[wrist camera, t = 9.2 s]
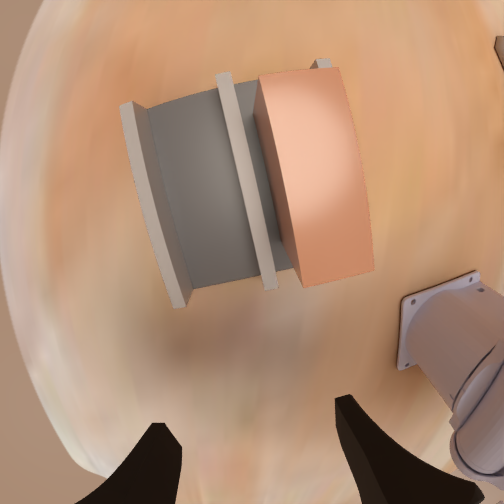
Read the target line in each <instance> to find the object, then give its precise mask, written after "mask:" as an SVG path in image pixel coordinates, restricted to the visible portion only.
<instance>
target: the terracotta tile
mask: <svg viewBox="0 0 504 504" xmlns="http://www.w3.org/2000/svg"><path fill="white" fill-rule="evenodd" d="M253 117H254V121H255V125H256V129H257V134H258V138H259V142H260V146H261V151H262V155H263V160H264V164H265V169H266V173H267V178H268V182H269V187H270V191H271V196H272V201H273V206H274V210H275V215H276V220H277V225H278V230H279V235H280V240H281V243H282V245H283V247H284V249H285V251H286V253H287V255H288V257H289V259H290V261H291V263H292V265H293V267H294V269H295V272H296V274H297V276H298V278H299V280H300V282H301V284H302V286H303V288H306V287H310V286H315V285H319V284H323V283H327V282H331V281H335V280H339V279H343V278H347V277H351V276H355V275H359V274H362V273H366V272H370V271H374V256H373V243H372V233H371V223H370V214H369V206H368V199H367V192H366V185H365V179H364V173H363V167H362V161H361V156H360V151H359V146H358V141H357V136H356V131H355V127H354V123H353V118H352V114H351V110H350V106H349V102H348V98H347V95H346V91H345V87H344V84H343V80H342V77H341V74H340V70H339V67H331V68H316V69H304V70H295V71H286V72H279V73H272V74H265V75H259V76H258V82H257V89H256V95H255V102H254V109H253Z"/></svg>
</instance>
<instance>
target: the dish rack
mask: <svg viewBox="0 0 504 504" xmlns="http://www.w3.org/2000/svg"><path fill="white" fill-rule="evenodd" d="M331 67H332V64H331V61H330V58H329V59H316V60H315V61H314V63H313V64H312V66H311V67H310V69H316V68H331ZM215 77H216V81H217V86H218V88H216V89H212V90H208V91H204V92H200V93H197V94H193V95H189V96H186V97H182V98H179V99H176V100H173V101H170V102H166V103H163V104H160V105H157V106H154V107H152V108H149V109H146V108H144V107H142V106H141V105H139V104H137V103H135V102H133V101H130V102H128V103H125V104H123V105H120V106H119V108H120V114H121V120H122V125H123V131H124V136H125V141H126V146H127V151H128V155H129V160H130V164H131V169H132V173H133V177H134V182H135V186H136V190H137V194H138V198H139V201H140V205H141V209H142V213H143V216H144V220H145V223H146V227H147V230H148V234H149V237H150V240H151V244H152V247H153V250H154V253H155V256H156V260H157V263H158V266H159V269H160V272H161V275H162V278H163V281H164V284H165V286H166V289H167V292H168V295H169V298H170V300H171V303H172V306H173V309H177V308H183V307H186V306H187V304H188V301H189V299H190V296H191V294H192V291H193V289H196V288H201V287H206V286H211V285H216V284H221V283H226V282H231V281H235V280H240V279H245V278H249V277H254V276H259V275H261V276H262V281H263V285H264V290H265V291H268V290H272V289H277V288H279V286H278V281H277V276H276V272H277V271H281V270H286V269H290V268H294V267H293V265H292V263H291V261H290V259H289V257H288V255H287V253H286V251H285V249H284V247H283V245H282V243H281V240H280V235H279V230H278V225H277V220H276V215H275V210H274V206H273V201H272V196H271V191H270V187H269V182H268V178H267V173H266V169H265V164H264V160H263V155H262V151H261V146H260V142H259V138H258V134H257V129H256V125H255V121H254V117H253V109H254V102H255V95H256V89H257V82H258V80H254V81H249V82H243V83H238V84H233V80H232V76H231V72H230V71H229V72H224V73H220V74H215Z"/></svg>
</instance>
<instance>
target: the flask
mask: <svg viewBox="0 0 504 504" xmlns="http://www.w3.org/2000/svg"><path fill="white" fill-rule="evenodd" d="M495 49H496V51H497V53H498V55H499V58H500V60H501V62H502V65H503V67H504V36H497V41H496V46H495Z"/></svg>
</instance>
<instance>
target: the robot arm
mask: <svg viewBox="0 0 504 504" xmlns="http://www.w3.org/2000/svg"><path fill="white" fill-rule="evenodd" d="M413 299H414V300H413ZM412 300H413V302H411V301H412ZM416 364H417V365H418V366H419V367H420V369H421V370H422V371H423V372H424V374H425V375H426V376H427V378H428V379H429V380H430V382H431V383H432V385H433V386H434V387H435V389H436V390H437V391H438V393H439V394H440V395H441V397H442V398H443V400H444V401H445V402H446V404H447V405H448V407H449V408H450V409H451V411H452V412H453V416H452V417H451V419H450V420H449V423H450V424H451V426H452V427H453V429H454V430H455V431H454V432H453V434H452V436H451V439H450V453H451V456H452V459H453V461H454V463H455V465H456V466H457V468H458V469H459V470H460V471H461V472H462V473H463V474H464V475H466V476H467V477H469V478H471V479H474V480H478V481H486V482H489V483H491V484H493V485H495V486H496V487H498V488H499V489H500V490H504V296H502V295H501V294H499V293H498V292H496V291H494V290H493V289H491V288H490V287H488V286H486V285H485V284H483V283H482V282H480V272H478V271H474V272H471V273H469V274H466V275H464V276H462V277H459V278H456V279H454V280H451V281H449V282H446V283H443V284H441V285H438V286H435V287H433V288H430V289H427V290H424V291H421V292H419V293H416V294H413V295H410V296H407V297H405V298H404V299H403V300H402V304H401V325H400V339H399V350H398V359H397V369H398V370H400V371H401V370H404V369H406V368H409V367H411V366H414V365H416ZM335 416H336V428H337V432H338V436H339V440H340V443H341V447H342V449H343V452H344V454H345V457H346V459H347V462H348V464H349V467H350V469H351V472H352V474H353V477H354V479H355V482H356V484H357V487H358V490H359V493H360V497H361V501H362V504H479V503H481V502H482V501H483V500H484V498H485V497H484V495H483V493H482V491H481V490H480V489H479V487H478V486H477V485H476V484H475V483H474V482H471V481H467V480H464V479H461V478H458V477H455V476H453V475H450V474H448V473H446V472H443V471H441V470H439V469H437V468H435V467H433V466H431V465H429V464H427V463H426V462H424V461H422V460H421V459H419V458H417V457H416V456H414V455H413V454H411V453H410V452H408V451H407V450H405V449H404V448H403V447H401V446H400V445H399V444H398V443H396V442H395V441H394V440H393V439H392V438H391V437H389V436H388V435H387V434H386V433H385V432H384V431H383V430H382V429H381V428H380V427H379V426H378V425H377V424H376V423H375V422H374V421H373V420H372V419H371V418H370V417H369V416H368V415H367V414H366V413H365V411H364V410H363V409H362V408H361V407H360V406H359V404H358V403H357V402H356V400H355V399H354V398H353V396H352V395H350V394H348V395H345V396H341V397H338V398H335ZM181 466H182V446H181V445H180V444H179V442H178V441H177V440H176V438H175V437H174V436H173V434H172V433H171V432H170V430H169V429H168V427H167V426H166V424H165V423H152V424H151V425H150V427H149V428H148V429H147V431H146V432H145V433H144V435H143V436H142V437H141V439H140V440H139V442H138V443H137V444H136V446H135V447H134V448H133V450H132V451H131V452H130V454H129V455H128V456H127V457H126V459H125V460H124V461H123V462H122V464H121V465H120V466H119V467H118V468H117V469H116V470H115V472H114V473H113V474H112V475H111V476H110V477H109V478H108V479H107V480H106V481H105V482H104V483H103V484H101V485H100V486H99V487H98V488H97V489H95V490H94V491H93V492H91V493H90V494H89V495H88V496H86V497H85V498H83V499H82V500H80V501H78V502H77V503H75V504H175V501H176V495H177V489H178V484H179V478H180V472H181ZM497 504H504V503H503V501H499V502H498V503H497Z"/></svg>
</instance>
